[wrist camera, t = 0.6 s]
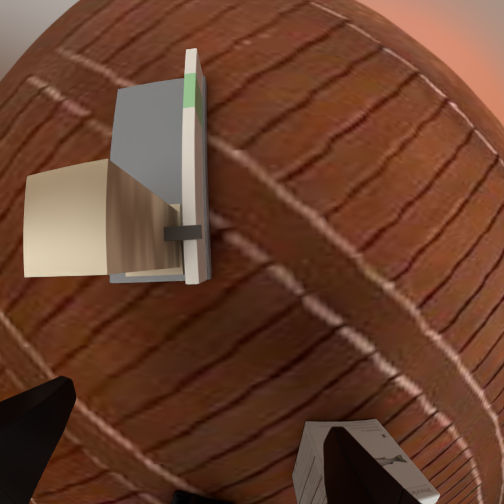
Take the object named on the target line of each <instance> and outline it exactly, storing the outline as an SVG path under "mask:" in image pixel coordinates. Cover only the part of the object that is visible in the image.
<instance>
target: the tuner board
mask: <svg viewBox="0 0 504 504" xmlns="http://www.w3.org/2000/svg"><path fill="white" fill-rule="evenodd" d="M110 161H112V162H113V163H114V164H116V165H117V166H118V167H120V168H121V169H122V170H124V171H125V172H126V173H128V174H129V175H130V176H132V177H133V178H134V179H136V180H137V181H138V182H140V183H141V184H142V185H144V186H145V187H146V188H148V189H149V190H150V191H152V192H153V193H154V194H156V195H157V196H158V197H160V198H161V199H162V200H164V201H165V202H166V203H168V204H169V205H171V204H181V205H182V226H188V225H201V228H202V239H194V240H183V257H184V274H178V275H154V276H129V277H126V274H125V273H118V274H110V283H133V282H162V281H186V284H199V283H201V282H203V281H205V280H209V279H212V268H211V249H210V228H209V201H208V165H207V82H206V78H205V76H203V75H202V70H201V65H200V61H199V56H198V51H197V48H195V49H187V50H186V60H185V76H184V78H182V79H174V80H167V81H160V82H154V83H148V84H143V85H138V86H132V87H127V88H123V89H118V94H117V101H116V108H115V116H114V124H113V133H112V143H111V155H110Z"/></svg>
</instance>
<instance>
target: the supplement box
mask: <svg viewBox="0 0 504 504" xmlns="http://www.w3.org/2000/svg"><path fill="white" fill-rule="evenodd" d="M333 426H342V427H344V428H345V429H346V430H347V431H348V432H349V433H350V434H351V435H352V436H353V437H354V438H355V439H356V440H357V441H358V442H359V443H360V444H361V445H362V446H363V447H364V448H365V449H366V450H367V451H368V452H369V453H370V454H371V455H372V456H373V458H374V459H375V460H376V461H377V462H378V463H379V464H380V465H381V466H382V467H383V468H384V469H385V470H386V471H387V472H389V473H390V474H391V475H392V476H393V477H394V478H395V479H396V480H397V481H398V482H399V483H400V484H401V485H402V486H403V488H405V489H406V490H407V491H408V492H409V493H410V494H411V495H413V496H414V497H415V498H416V499H417V500H418V501H419V502H421V503H422V504H435V503H436V502H437V500H438V498H439V496H440V494H439V493H438V492H437V490H436V489H435V488H434V487H433V486H432V485H431V483H430V482H429V481H428V480H427V479H426V477H425V476H424V475H423V474H422V473H421V472H420V470H419V469H418V468H417V467H416V466H415V464H414V463H413V462H412V461H411V460H410V458H409V457H408V456H407V455H406V454H405V452H404V451H403V450H402V449H401V448H400V446H399V445H398V444H397V443H396V442H395V440H394V439H393V438H392V437H391V436H390V434H389V433H388V432H387V431H386V430H385V428H384V427H383V426H382V425H381V424H380V422H379V421H378V420H377V419H371V420H362V421H348V422H314V421H306V422H305V427H304V431H303V435H302V439H301V443H300V447H299V451H298V455H297V459H296V463H295V467H294V470H293V474H292V478H293V483H294V488H295V494H296V499H297V504H327V498H326V491H325V484H324V457H323V443H324V440H325V438H326V436H327V434H328V432H329V430H330V428H331V427H333Z"/></svg>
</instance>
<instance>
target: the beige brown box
mask: <svg viewBox="0 0 504 504" xmlns="http://www.w3.org/2000/svg"><path fill="white" fill-rule="evenodd" d="M194 239H202V228H201V225H188V226H182V205H181V204H171V205H169V204H168V203H166V202H165V201H164V200H162V199H161V198H160V197H158V196H157V195H156V194H154V193H153V192H152V191H150V190H149V189H148V188H146V187H145V186H144V185H142V184H141V183H140V182H138V181H137V180H136V179H134V178H133V177H132V176H130V175H129V174H128V173H126V172H125V171H124V170H122V169H121V168H120V167H118V166H117V165H116V164H114V163H113V162H112V161H110V160H109V159H104V160H99V161H93V162H88V163H83V164H78V165H73V166H68V167H64V168H59V169H55V170H51V171H47V172H42V173H38V174H34V175H31V176H27V183H26V194H25V208H24V275H25V277H45V276H80V275H108V274H118V273H125V274H126V277H129V276H154V275H178V274H184V257H183V240H194Z"/></svg>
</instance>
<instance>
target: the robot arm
mask: <svg viewBox="0 0 504 504" xmlns="http://www.w3.org/2000/svg"><path fill="white" fill-rule="evenodd" d="M75 401H76V392H75V389H74V385H73V381H72V380H71V379H70V378H67V377H65V376H59V377H57V378H55V379H53V380H50V381H48V382H46V383H43V384H41V385H39V386H36V387H34V388H32V389H29V390H27V391H25V392H22V393H20V394H18V395H15V396H13V397H10V398H8V399H6V400H3V401H1V402H0V504H29V502H30V499H31V497H32V495H33V493H34V491H35V488H36V486H37V484H38V482H39V480H40V478H41V476H42V473H43V471H44V469H45V467H46V465H47V463H48V461H49V459H50V457H51V455H52V453H53V451H54V449H55V447H56V445H57V444H58V442H59V440H60V438H61V436H62V434H63V432H64V429H65V427H66V424H67V422H68V419H69V416H70V414H71V411H72V409H73V406H74V404H75ZM323 457H324V484H325V491H326V498H327V504H422V503H421V502H419V501H418V500H417V499H416V498H415V497H414V496H413V495H411V494H410V493H409V492H408V491H407V490H406V489H405V488H403V486H402V485H401V484H400V483H399V482H398V481H397V480H396V479H395V478H394V477H393V476H392V475H391V474H390V473H389V472H387V471H386V470H385V469H384V468H383V467H382V466H381V465H380V464H379V463H378V462H377V461H376V460H375V459H374V458H373V456H372V455H371V454H370V453H369V452H368V451H367V450H366V449H365V448H364V447H363V446H362V445H361V444H360V443H359V442H358V441H357V440H356V439H355V438H354V437H353V436H352V435H351V434H350V433H349V432H348V431H347V430H346V429H345V428H344V427H342V426H333V427H331V428H330V430H329V432H328V434H327V436H326V438H325V440H324V443H323ZM171 504H232V503H227V502H222V501H217V500H213V499H208V498H204V497H200V496H196V495H192V494H189V493H185V492H181V491H175V492H174V496H173V499H172V503H171Z"/></svg>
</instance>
